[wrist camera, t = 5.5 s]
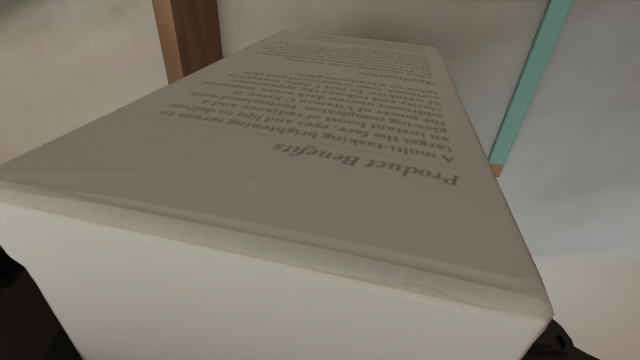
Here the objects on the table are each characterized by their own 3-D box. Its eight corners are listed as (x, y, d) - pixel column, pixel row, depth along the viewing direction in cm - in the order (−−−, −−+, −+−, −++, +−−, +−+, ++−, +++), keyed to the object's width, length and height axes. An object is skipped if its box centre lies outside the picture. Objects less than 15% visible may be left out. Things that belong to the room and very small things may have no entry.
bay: (580, -25, 17) (640, -21, 13) (497, 175, 23) (519, 219, 19) (195, -49, 20) (141, -53, 15) (218, 135, 26) (185, 167, 22)
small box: (395, 224, 15) (386, 558, 7) (280, 202, 16) (137, 476, 7) (443, 42, 11) (600, 331, 2) (281, 23, 12) (-70, 185, 3)
